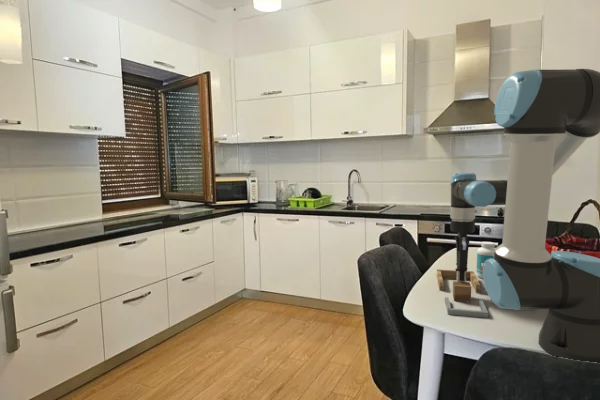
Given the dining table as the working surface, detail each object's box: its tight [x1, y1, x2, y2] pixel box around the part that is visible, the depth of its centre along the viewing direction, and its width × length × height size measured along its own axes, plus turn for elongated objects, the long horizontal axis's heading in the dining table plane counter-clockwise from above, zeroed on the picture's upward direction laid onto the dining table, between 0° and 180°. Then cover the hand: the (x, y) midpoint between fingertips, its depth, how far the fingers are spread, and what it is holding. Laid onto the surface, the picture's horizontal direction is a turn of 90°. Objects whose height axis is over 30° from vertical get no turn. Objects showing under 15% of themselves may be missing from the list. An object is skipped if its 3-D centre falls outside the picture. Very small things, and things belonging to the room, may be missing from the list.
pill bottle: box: [475, 241, 496, 279], centre depth 150 cm, size 8×7×14 cm
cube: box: [452, 280, 472, 303], centre depth 128 cm, size 5×5×5 cm
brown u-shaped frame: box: [436, 269, 481, 294], centre depth 142 cm, size 16×13×3 cm
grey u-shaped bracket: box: [444, 296, 489, 319], centre depth 119 cm, size 10×11×2 cm
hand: (461, 289), depth 131 cm, fingers closed
